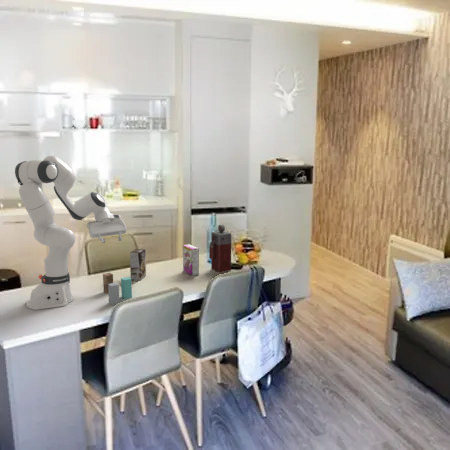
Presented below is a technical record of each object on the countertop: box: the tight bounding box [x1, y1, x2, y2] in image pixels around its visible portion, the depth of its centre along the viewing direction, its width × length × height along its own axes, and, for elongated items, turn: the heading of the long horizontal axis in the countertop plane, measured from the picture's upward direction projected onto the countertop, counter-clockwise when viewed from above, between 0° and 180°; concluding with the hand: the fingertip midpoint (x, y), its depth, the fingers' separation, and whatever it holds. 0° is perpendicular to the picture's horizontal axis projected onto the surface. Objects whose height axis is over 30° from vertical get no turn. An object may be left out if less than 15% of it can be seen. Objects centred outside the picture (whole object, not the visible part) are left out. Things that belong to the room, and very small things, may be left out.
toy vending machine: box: [208, 224, 232, 273], centre depth 311 cm, size 9×11×28 cm
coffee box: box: [129, 248, 147, 281], centre depth 296 cm, size 9×6×16 cm
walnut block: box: [102, 272, 114, 295], centre depth 272 cm, size 4×4×10 cm
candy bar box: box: [182, 243, 200, 277], centre depth 305 cm, size 11×5×16 cm, turn 34°
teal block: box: [120, 276, 133, 300], centre depth 265 cm, size 4×4×10 cm
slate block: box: [108, 282, 121, 306], centre depth 256 cm, size 4×4×10 cm
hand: (112, 241), depth 274 cm, fingers open, 8 cm apart
